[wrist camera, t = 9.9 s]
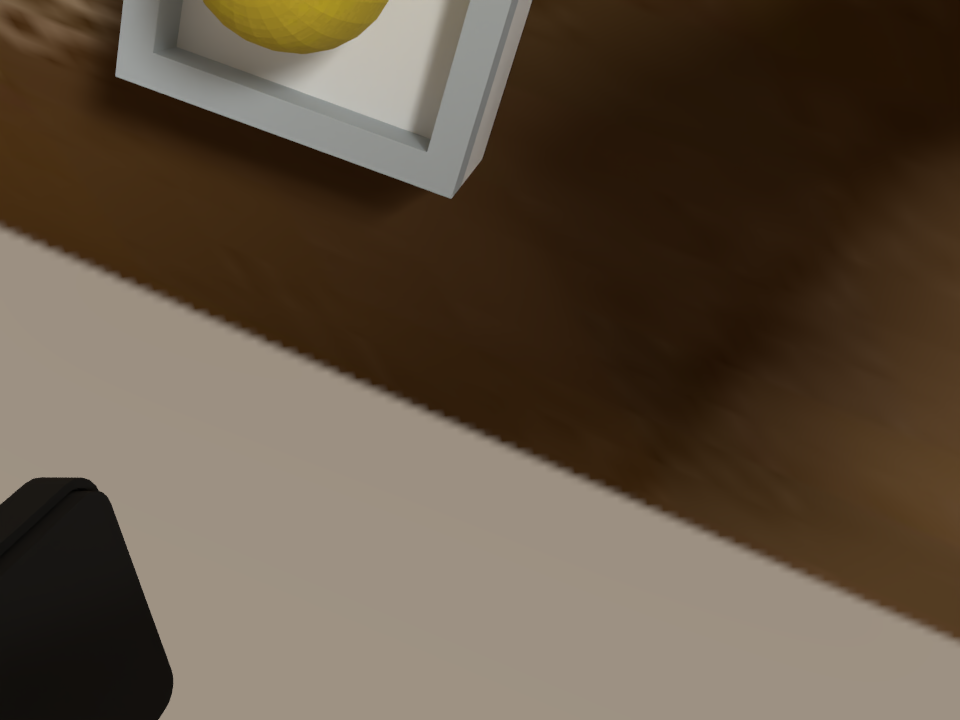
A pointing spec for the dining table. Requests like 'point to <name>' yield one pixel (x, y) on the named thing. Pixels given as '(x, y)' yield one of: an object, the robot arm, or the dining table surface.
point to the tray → (344, 81)
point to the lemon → (297, 21)
